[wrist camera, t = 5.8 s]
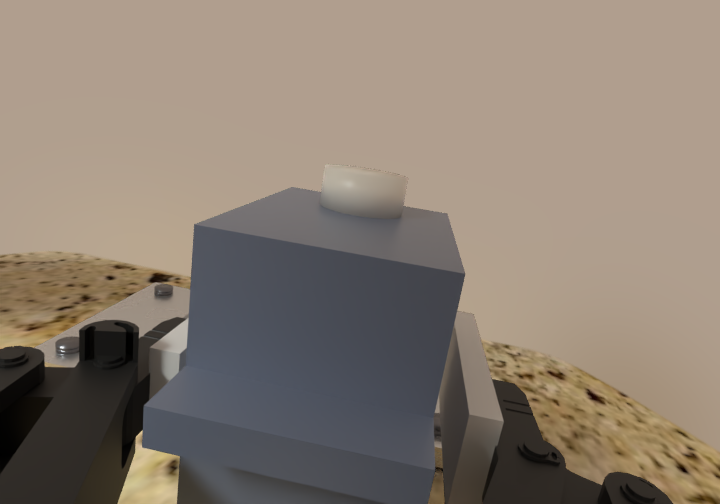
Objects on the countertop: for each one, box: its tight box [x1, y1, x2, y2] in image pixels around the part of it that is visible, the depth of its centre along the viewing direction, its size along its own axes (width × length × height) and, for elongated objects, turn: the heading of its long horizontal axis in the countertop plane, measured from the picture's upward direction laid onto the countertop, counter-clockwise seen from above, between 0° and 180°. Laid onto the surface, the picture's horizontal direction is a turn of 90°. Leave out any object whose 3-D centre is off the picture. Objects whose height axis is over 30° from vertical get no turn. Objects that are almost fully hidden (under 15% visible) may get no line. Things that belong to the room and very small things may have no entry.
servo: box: [142, 164, 465, 504], centre depth 13 cm, size 5×9×13 cm, turn 172°
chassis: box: [34, 282, 443, 468], centre depth 27 cm, size 22×12×3 cm, turn 83°
